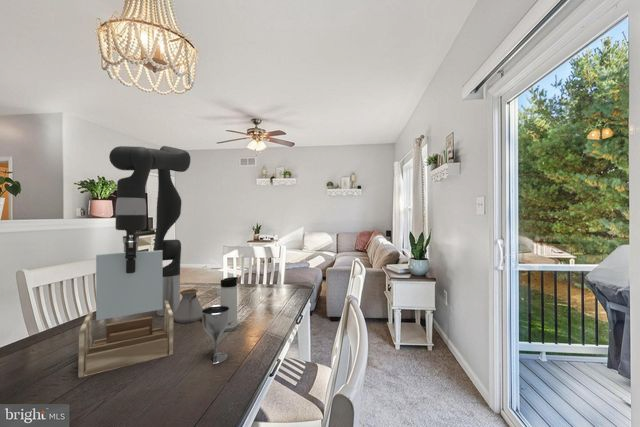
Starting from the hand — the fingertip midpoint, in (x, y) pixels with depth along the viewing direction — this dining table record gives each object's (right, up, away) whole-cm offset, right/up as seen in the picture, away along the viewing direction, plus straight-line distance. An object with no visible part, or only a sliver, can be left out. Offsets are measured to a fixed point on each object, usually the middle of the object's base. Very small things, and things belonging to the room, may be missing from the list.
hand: (130, 272), depth 81 cm
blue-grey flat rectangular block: (0, -12, 0) cm, 12 cm away
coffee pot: (+4, -28, +29) cm, 41 cm away
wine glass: (+24, -28, +4) cm, 37 cm away
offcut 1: (-4, -26, +6) cm, 27 cm away
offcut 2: (-2, -26, +3) cm, 26 cm away
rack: (-3, -27, +4) cm, 28 cm away
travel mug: (+20, -28, +27) cm, 44 cm away
